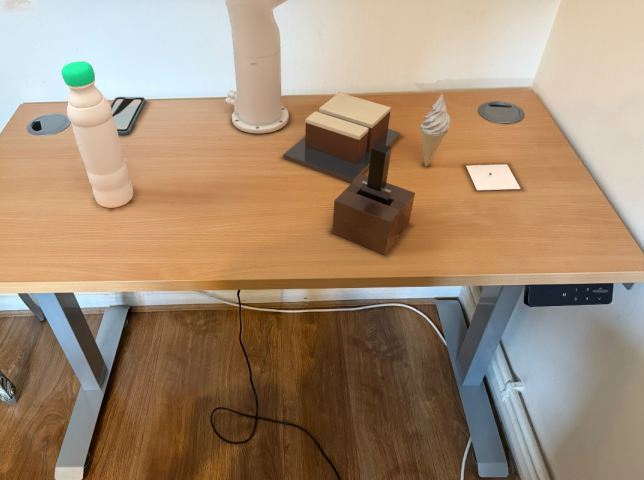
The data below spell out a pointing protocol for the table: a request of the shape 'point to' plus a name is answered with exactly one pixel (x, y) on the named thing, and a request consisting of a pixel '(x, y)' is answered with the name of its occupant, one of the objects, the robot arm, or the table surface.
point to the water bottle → (96, 137)
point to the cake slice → (336, 137)
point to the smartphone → (126, 112)
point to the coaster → (492, 177)
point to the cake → (360, 115)
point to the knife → (378, 175)
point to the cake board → (334, 159)
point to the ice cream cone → (434, 128)
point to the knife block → (372, 216)
